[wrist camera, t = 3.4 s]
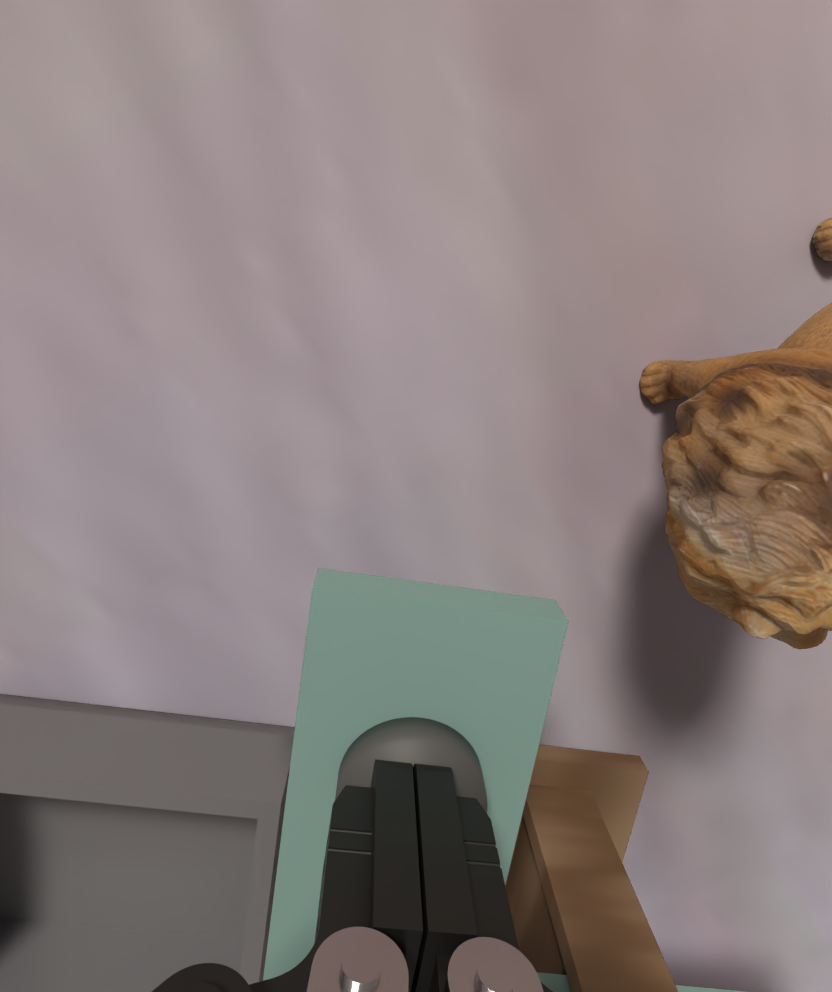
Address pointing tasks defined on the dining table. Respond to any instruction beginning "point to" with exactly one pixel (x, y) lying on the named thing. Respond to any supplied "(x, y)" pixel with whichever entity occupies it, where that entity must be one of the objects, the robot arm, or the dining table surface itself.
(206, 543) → the dining table surface
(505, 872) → the lever
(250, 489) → the dining table surface
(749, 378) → the lion figurine
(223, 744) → the tray
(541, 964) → the fulcrum
